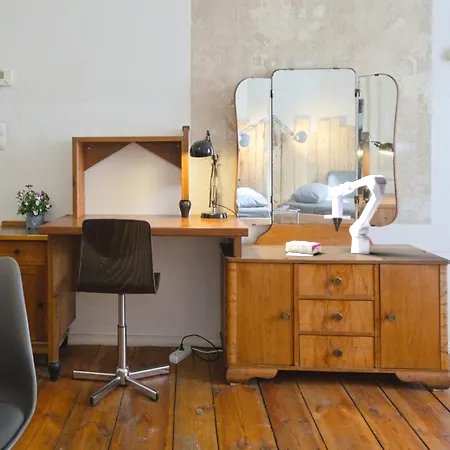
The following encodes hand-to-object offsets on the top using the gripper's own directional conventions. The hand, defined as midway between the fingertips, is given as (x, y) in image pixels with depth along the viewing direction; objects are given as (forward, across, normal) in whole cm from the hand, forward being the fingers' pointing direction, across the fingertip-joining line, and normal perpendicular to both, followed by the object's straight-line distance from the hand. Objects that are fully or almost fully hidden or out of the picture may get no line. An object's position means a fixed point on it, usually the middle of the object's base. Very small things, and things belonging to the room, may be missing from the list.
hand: (336, 231), depth 259 cm
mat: (+10, +18, +21) cm, 30 cm away
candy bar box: (+8, +10, +20) cm, 24 cm away
